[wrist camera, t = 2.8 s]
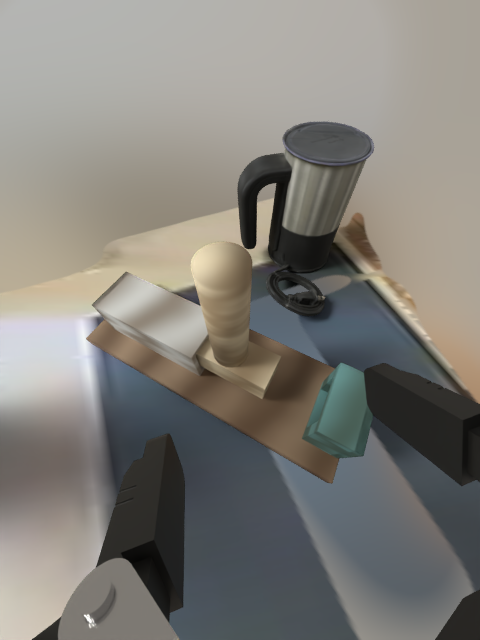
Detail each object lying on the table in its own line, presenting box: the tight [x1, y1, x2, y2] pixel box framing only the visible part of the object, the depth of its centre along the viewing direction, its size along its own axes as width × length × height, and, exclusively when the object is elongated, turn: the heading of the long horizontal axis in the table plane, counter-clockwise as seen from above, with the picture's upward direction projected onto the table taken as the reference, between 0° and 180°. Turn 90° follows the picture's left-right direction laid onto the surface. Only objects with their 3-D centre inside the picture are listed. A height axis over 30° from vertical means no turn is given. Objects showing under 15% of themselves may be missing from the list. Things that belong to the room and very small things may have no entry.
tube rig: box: [86, 272, 373, 483], centre depth 25 cm, size 29×10×7 cm, turn 62°
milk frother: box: [238, 122, 374, 316], centre depth 29 cm, size 14×16×15 cm
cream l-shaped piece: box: [191, 242, 281, 399], centre depth 20 cm, size 18×3×15 cm, turn 62°
